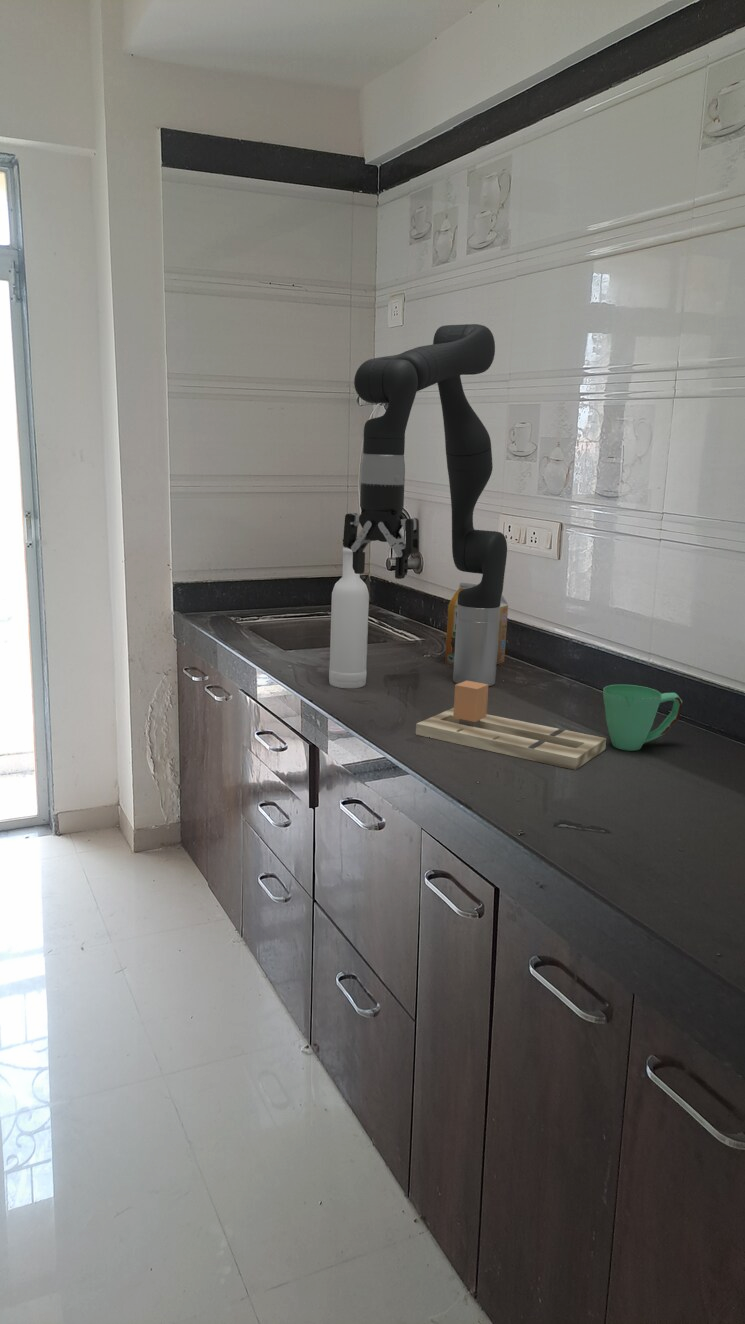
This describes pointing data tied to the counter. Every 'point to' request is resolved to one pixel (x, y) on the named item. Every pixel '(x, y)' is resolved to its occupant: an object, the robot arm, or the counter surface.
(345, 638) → the bottle
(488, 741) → the board
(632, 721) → the mug
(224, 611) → the counter surface
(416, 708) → the counter surface
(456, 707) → the fader knob
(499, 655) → the milk carton
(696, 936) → the counter surface
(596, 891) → the counter surface
